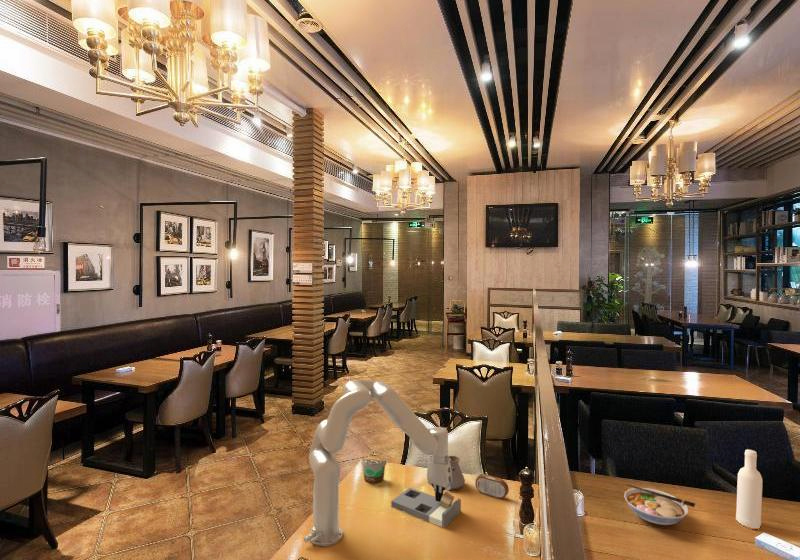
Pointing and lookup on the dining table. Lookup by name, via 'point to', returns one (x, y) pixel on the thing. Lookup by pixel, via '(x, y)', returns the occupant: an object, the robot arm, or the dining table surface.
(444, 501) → the block
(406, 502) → the board
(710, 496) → the dining table surface
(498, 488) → the tin
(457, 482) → the coffee pot
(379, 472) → the food container
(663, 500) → the ramen bowl
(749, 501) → the bottle
